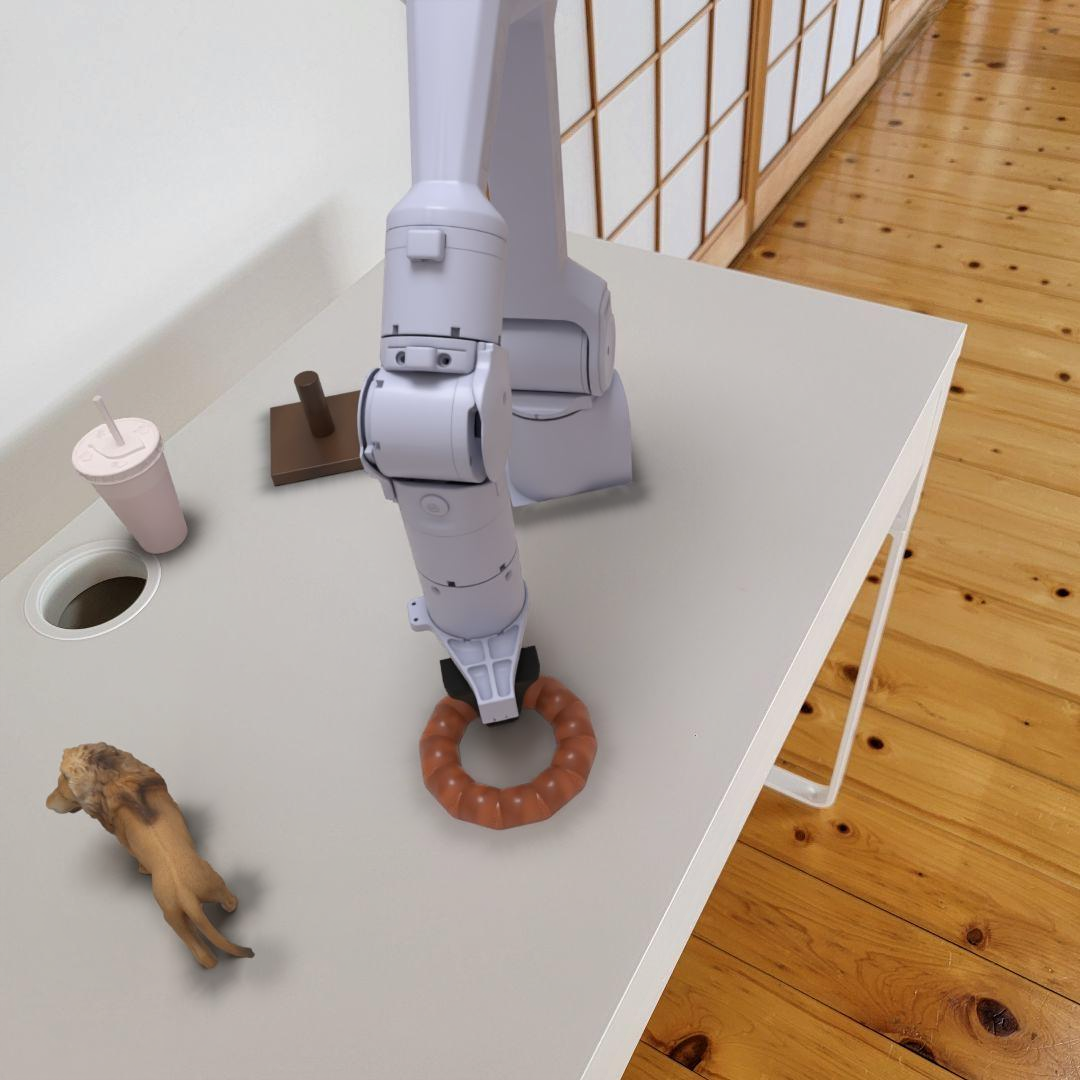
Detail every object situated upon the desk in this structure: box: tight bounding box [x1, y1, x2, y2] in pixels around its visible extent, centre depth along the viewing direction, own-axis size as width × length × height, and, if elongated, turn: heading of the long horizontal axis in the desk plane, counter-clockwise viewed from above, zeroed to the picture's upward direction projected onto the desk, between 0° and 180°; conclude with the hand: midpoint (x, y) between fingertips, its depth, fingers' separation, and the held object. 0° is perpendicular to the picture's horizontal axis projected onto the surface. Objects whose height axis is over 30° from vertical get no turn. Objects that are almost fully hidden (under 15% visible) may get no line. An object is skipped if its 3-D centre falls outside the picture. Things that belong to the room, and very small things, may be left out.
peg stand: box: [269, 370, 364, 486], centre depth 82 cm, size 9×9×7 cm
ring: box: [418, 673, 598, 831], centre depth 62 cm, size 11×11×2 cm
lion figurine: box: [45, 741, 256, 970], centre depth 55 cm, size 15×5×9 cm, turn 50°
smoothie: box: [71, 395, 189, 555], centre depth 74 cm, size 6×6×14 cm
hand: (496, 689), depth 64 cm, fingers open, 4 cm apart
